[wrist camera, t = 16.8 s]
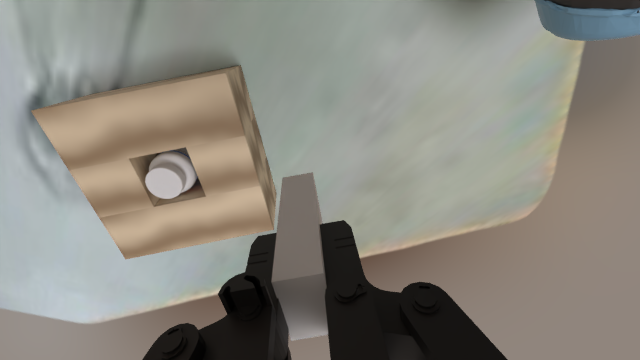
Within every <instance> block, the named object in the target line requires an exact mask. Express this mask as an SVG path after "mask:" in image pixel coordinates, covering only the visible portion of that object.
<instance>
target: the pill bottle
mask: <svg viewBox="0 0 640 360" xmlns="http://www.w3.org/2000/svg"><path fill="white" fill-rule="evenodd" d="M197 178H198V176H197V173H196V171H195V168H194V166H193V163H192V161H191V159H190V156H189V154H188V151H187V149H186V147H185V148H180V149H175V150H170V151H165V152H161V153H160V154H158V155H157V156H156V157H155V158H154V159H153V160H152V162H151V163H150V166H149V172H148V174H147V175H146V178H145V183H146V186H147V188H148V190H149V191H150V192H151V193H152V194H153V195H155V196H157V197H159V198H163V199H171V198H174V197H176V196H178V195H179V194H180V193H182V192H185V191H187V190H188V189H190V188H191V187H192V186H193V184H194V183H195V182H196V180H197Z"/></svg>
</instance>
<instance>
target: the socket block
mask: <svg viewBox="0 0 640 360" xmlns="http://www.w3.org/2000/svg"><path fill="white" fill-rule="evenodd" d="M31 112H32V113H33V115H34V116H35V118H36V119H37V121H38V123H39V124H40V126H41V127H42V129H43V130H44V132H45V134H46V135H47V137H48V138H49V140H50V141H51V143H52V144H53V146H54V148H55V149H56V151H57V152H58V154H59V155H60V157H61V159H62V160H63V162H64V163H65V165H66V166H67V168H68V170H69V171H70V173H71V174H72V176H73V177H74V179H75V181H76V182H77V184H78V185H79V187H80V188H81V190H82V192H83V193H84V195H85V196H86V198H87V199H88V201H89V203H90V204H91V206H92V207H93V209H94V210H95V212H96V214H97V215H98V217H99V218H100V220H101V221H102V223H103V224H104V226H105V228H106V229H107V231H108V232H109V234H110V235H111V237H112V239H113V240H114V242H115V243H116V245H117V246H118V248H119V250H120V251H121V253H122V254H123V256H124V257H125V259H130V258H135V257H140V256H145V255H150V254H155V253H160V252H164V251H169V250H174V249H179V248H184V247H189V246H194V245H199V244H204V243H209V242H214V241H219V240H224V239H229V238H234V237H239V236H244V235H249V234H254V233H259V232H264V231H269V230H274V218H275V206H276V190H275V186H274V183H273V179H272V176H271V172H270V168H269V165H268V161H267V158H266V154H265V151H264V147H263V143H262V140H261V136H260V133H259V129H258V125H257V122H256V118H255V115H254V111H253V108H252V104H251V100H250V97H249V93H248V90H247V86H246V82H245V79H244V75H243V72H242V68H241V65H239V66H234V67H229V68H224V69H219V70H214V71H208V72H203V73H198V74H193V75H188V76H183V77H178V78H172V79H167V80H162V81H157V82H152V83H147V84H141V85H136V86H131V87H126V88H121V89H116V90H111V91H105V92H100V93H95V94H91V95H87V96H83V97H80V98H76V99H72V100H69V101H65V102H61V103H58V104H54V105H50V106H47V107H43V108H39V109H36V110H32V111H31ZM185 147H186V149H187V151H188V154H189V156H190V159H191V161H192V163H193V166H194V168H195V171H196V173H197V176H198V178H197V180H196V182H195V183H194V184H193V186H192V187H191V188H190V189H188V190H187V191H185V192H182V193H180V194H179V195H178V196H176V197H174V198H171V199H163V198H159V197H157V196H155V195H153V194H152V193H151V192H150V191H149V190H148V188H147V186H146V183H145V178H146V175H147V174H148V172H149V166H150V163H151V162H152V160H153V159H154V158H155V157H156V156H157V155H158V154H160V153H161V152H165V151H170V150H175V149H180V148H185Z"/></svg>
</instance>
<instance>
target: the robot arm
mask: <svg viewBox="0 0 640 360" xmlns="http://www.w3.org/2000/svg"><path fill="white" fill-rule="evenodd" d="M535 3H536V6H537V10H538V14H539V18H540V21H541V23H542V25H543V27H544V28H545V29H546V30H548V31H550V32H551V33H553V34H554V35H555V36H558V37H561V38H565V39H570V40H580V41H594V40H609V39H618V38H624V37H631V36H637V35H640V0H535ZM218 295H219V297H220V299H221V301H222V303H223V305H224V308H225V310H226V312H227V315H226V316H225V317H224V318H223V319H221V320H219V321H217V322H215V323H213V324H211V325H209V326H206V327H204V328H202V329H200V330H198V329H197V328H196V327H195V326H194V325H192V324H189V323H185V324H179V325H177V326H174V327H172V328H170V329H168V330H167V331H166V332H164V333H163V334H162V335H161V336H160V337H159V338H158V339H157V340H156V341H155V343H154V344H153V345H152V347H151V348H150V349H149V351H148V352H147V354H146V355H145V357H144V358H143V360H291V354H290V350H289V347H288V332H289V335H290V338H291V341H293V340H299V339H305V338H311V337H317V336H322V335H328V336H329V346H330V357H331V360H507V359H506V358H505V356H504V355H503V354H502V353H501V352H500V351H499V350H498V349H497V348H496V347H495V345H494V344H493V343H492V342H491V341H490V340H489V339H488V338H487V337H486V336H485V334H483V332H482V331H481V330H480V329H479V328H478V327H477V326H476V325H475V324H474V322H473V321H472V320H471V319H470V318H469V317H468V316H467V315H466V314H465V313H464V312H463V310H462V309H461V308H460V307H459V306H458V305H457V304H456V303H455V302H454V301H453V299H452V298H451V297H450V296H449V295H448V294H447V293H446V292H445V291H443V290H442V289H441V288H440V287H438V286H436V285H433V284H431V283H425V282H417V283H412V284H410V285H408V286H407V287H405V288H404V289H403V291H402V292H401V293H399V292H390V291H384V290H380V289H378V288H376V287H374V286H373V285H371V284H370V283H369V282H368V281H367V279H366V278H365V275H364V272H363V269H362V266H361V261H360V258H359V254H358V251H357V247H356V243H355V240H354V236H353V232H352V229H351V227H350V226H349V225H348V224H347V223H346V222H345V221H344V220H342V221H337V222H331V223H325V224H322V217H321V212H320V207H319V202H318V196H317V191H316V186H315V181H314V176H313V172H312V173H307V174H301V175H295V176H290V177H284V178H283V179H282V188H281V198H280V207H279V216H278V225H277V233H273V234H267V235H262V236H258V237H257V238H256V240H255V241H254V242H253V244H252V245H251V249H250V253H249V258H248V262H247V267H246V271H245V273H241V274H238V275H236V276H234V277H233V278H231V279H229V280H228V281H227V282H226V283H225V284H224V285H223V286H222V288H221V290H220V291H219V293H218Z"/></svg>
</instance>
